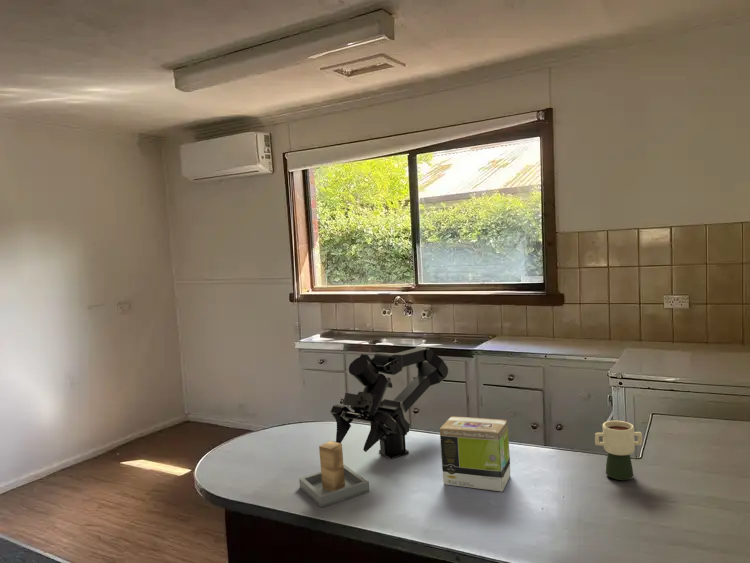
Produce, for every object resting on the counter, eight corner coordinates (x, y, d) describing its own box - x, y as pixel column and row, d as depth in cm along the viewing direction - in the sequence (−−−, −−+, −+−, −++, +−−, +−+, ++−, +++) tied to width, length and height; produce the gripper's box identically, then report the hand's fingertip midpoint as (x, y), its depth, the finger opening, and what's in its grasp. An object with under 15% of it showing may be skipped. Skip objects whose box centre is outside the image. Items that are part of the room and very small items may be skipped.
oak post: (333, 482, 148) (329, 440, 147) (345, 485, 145) (341, 443, 144) (322, 488, 145) (319, 446, 143) (334, 492, 142) (331, 449, 141)
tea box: (511, 475, 146) (508, 418, 145) (502, 493, 137) (499, 433, 136) (454, 468, 153) (450, 414, 151) (442, 485, 143) (438, 427, 142)
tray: (345, 473, 154) (344, 464, 154) (369, 491, 143) (368, 481, 142) (299, 487, 147) (299, 478, 147) (321, 507, 136) (320, 497, 136)
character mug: (638, 470, 144) (637, 419, 143) (647, 483, 137) (646, 430, 136) (592, 470, 146) (591, 420, 144) (599, 483, 139) (598, 431, 137)
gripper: (331, 375, 158) (307, 428, 151) (386, 383, 147) (363, 440, 139) (351, 395, 165) (329, 446, 158) (406, 404, 154) (385, 459, 146)
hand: (350, 447), depth 150 cm, fingers open, 9 cm apart
